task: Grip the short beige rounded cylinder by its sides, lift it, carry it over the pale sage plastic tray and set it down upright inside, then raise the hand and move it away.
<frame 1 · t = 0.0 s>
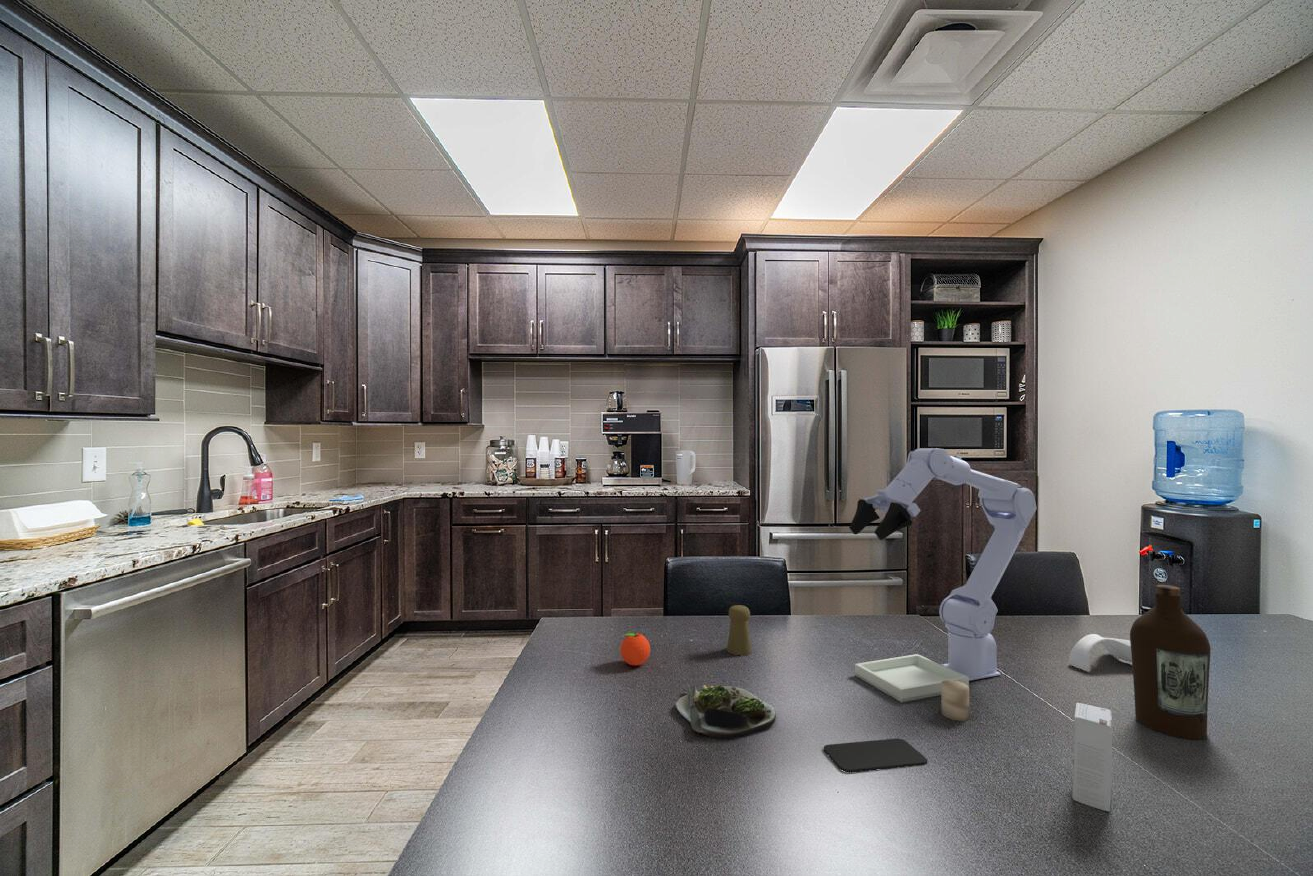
hand: (864, 533, 113), 32 cm above the table, tool tilted 50°, fingers open, 7 cm apart
skincare box: (1093, 799, 78), on the table
brown liquor bottle: (1169, 727, 98), on the table
clementine: (633, 665, 126), on the table
tray: (910, 682, 117), on the table
beige rounded cylinder: (955, 715, 102), on the table
phone: (874, 759, 89), on the table
cork: (739, 652, 134), on the table
white curved arch piece: (1116, 666, 127), on the table
salad plate: (724, 719, 102), on the table
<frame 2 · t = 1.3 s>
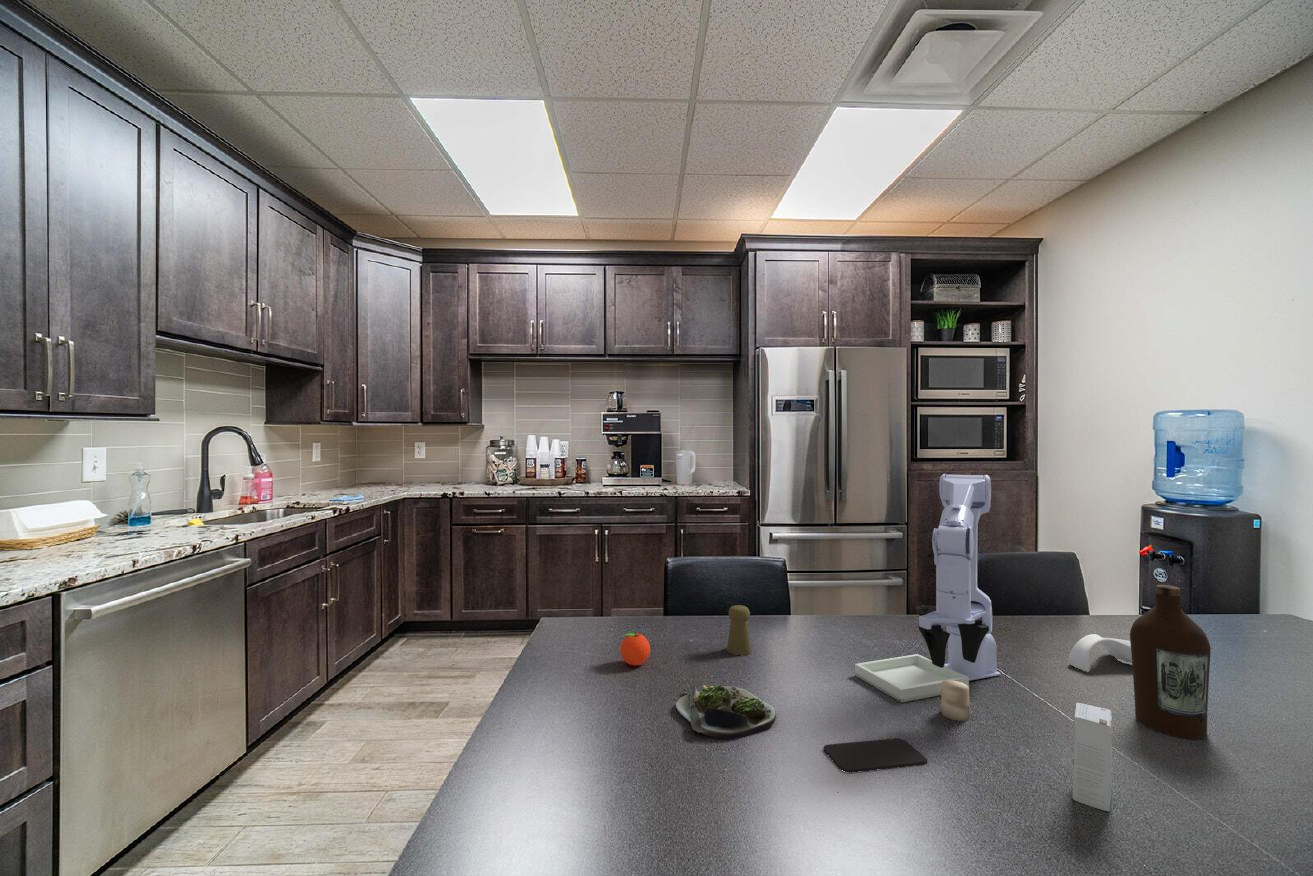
hand: (953, 663, 103), 10 cm above the table, tool pointing down, fingers open, 7 cm apart
nothing on the table moved.
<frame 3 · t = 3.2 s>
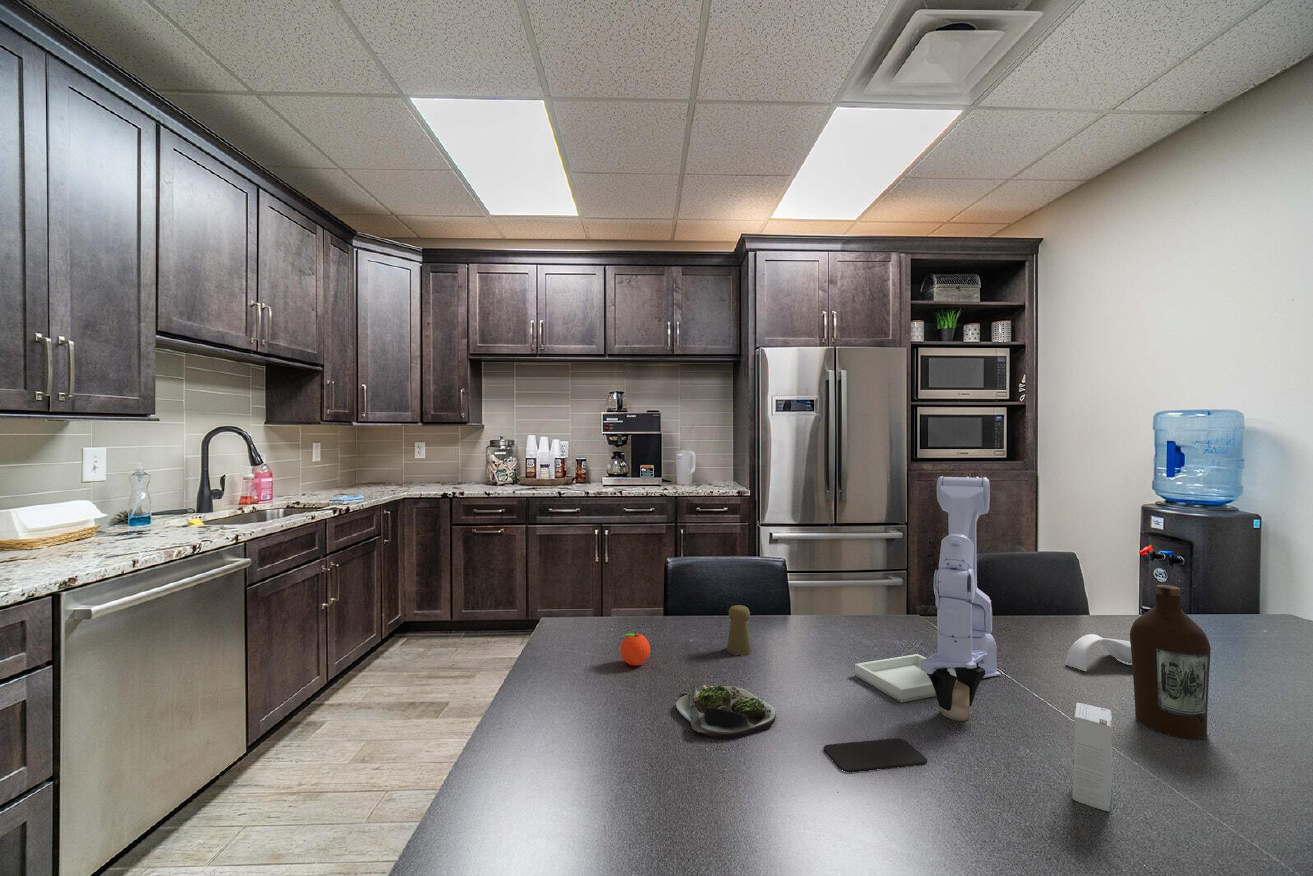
hand: (955, 706, 102), 2 cm above the table, tool pointing down, fingers closed on beige rounded cylinder, 5 cm apart
beige rounded cylinder: (955, 714, 102), on the table, touching gripper
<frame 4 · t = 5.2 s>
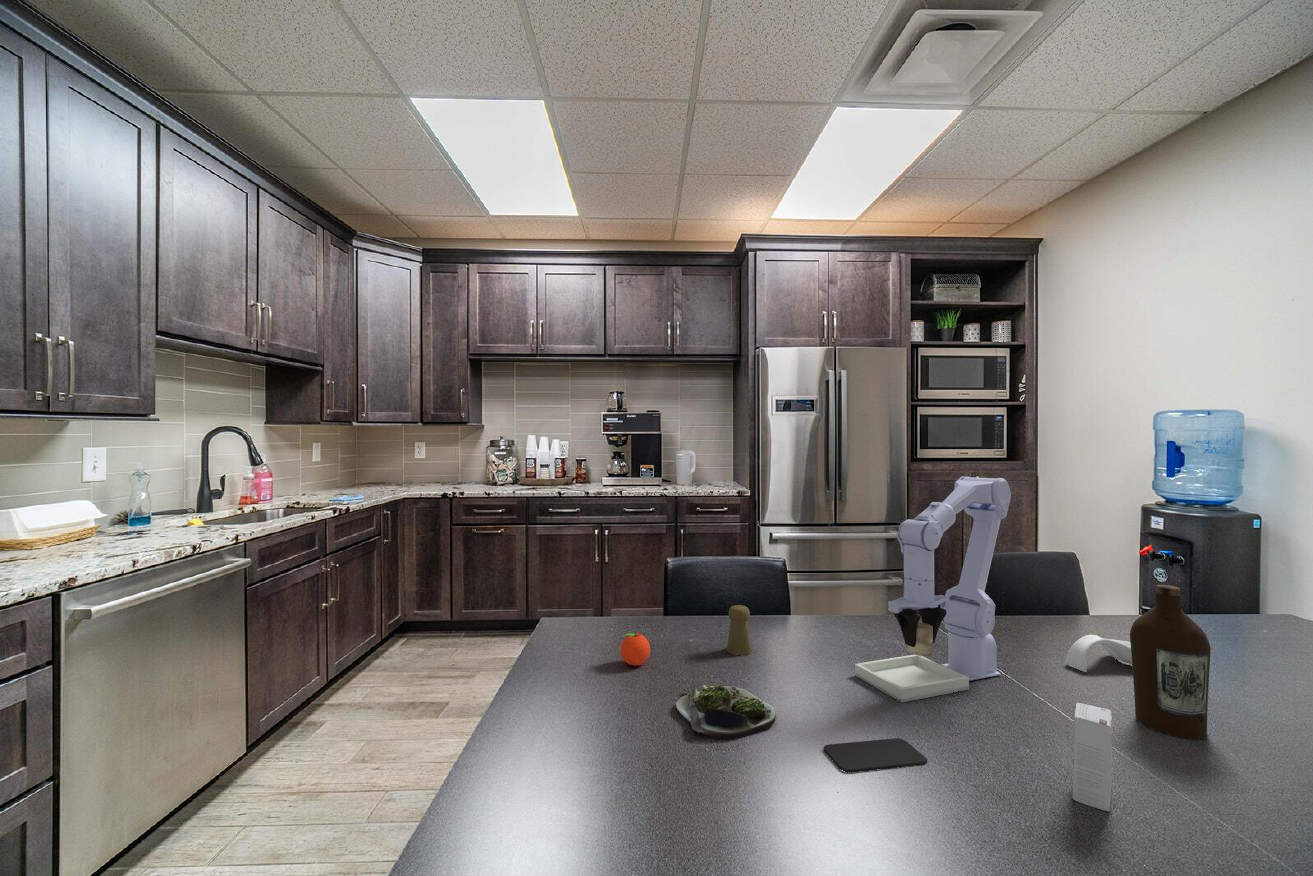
hand: (919, 643, 114), 9 cm above the table, tool pointing down, fingers closed on beige rounded cylinder, 5 cm apart
beige rounded cylinder: (920, 652, 113), point 8 cm above the table, touching gripper
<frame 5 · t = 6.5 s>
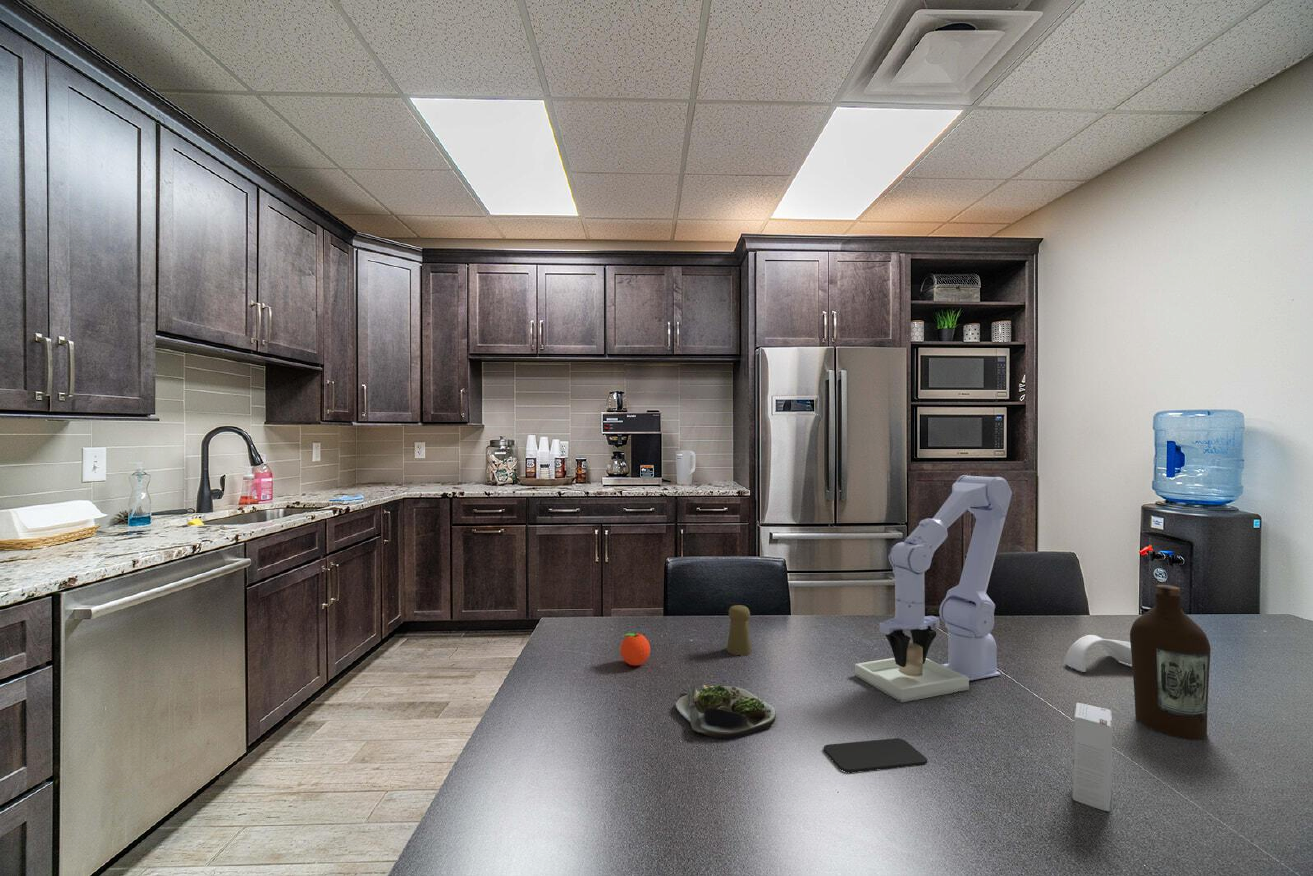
hand: (910, 663, 117), 4 cm above the table, tool pointing down, fingers closed on beige rounded cylinder, 5 cm apart
beige rounded cylinder: (910, 671, 117), point 2 cm above the table, touching gripper
when the fingers open (4 cm above the table, at t = 7.4 s): beige rounded cylinder drops 1 cm, resting on tray.
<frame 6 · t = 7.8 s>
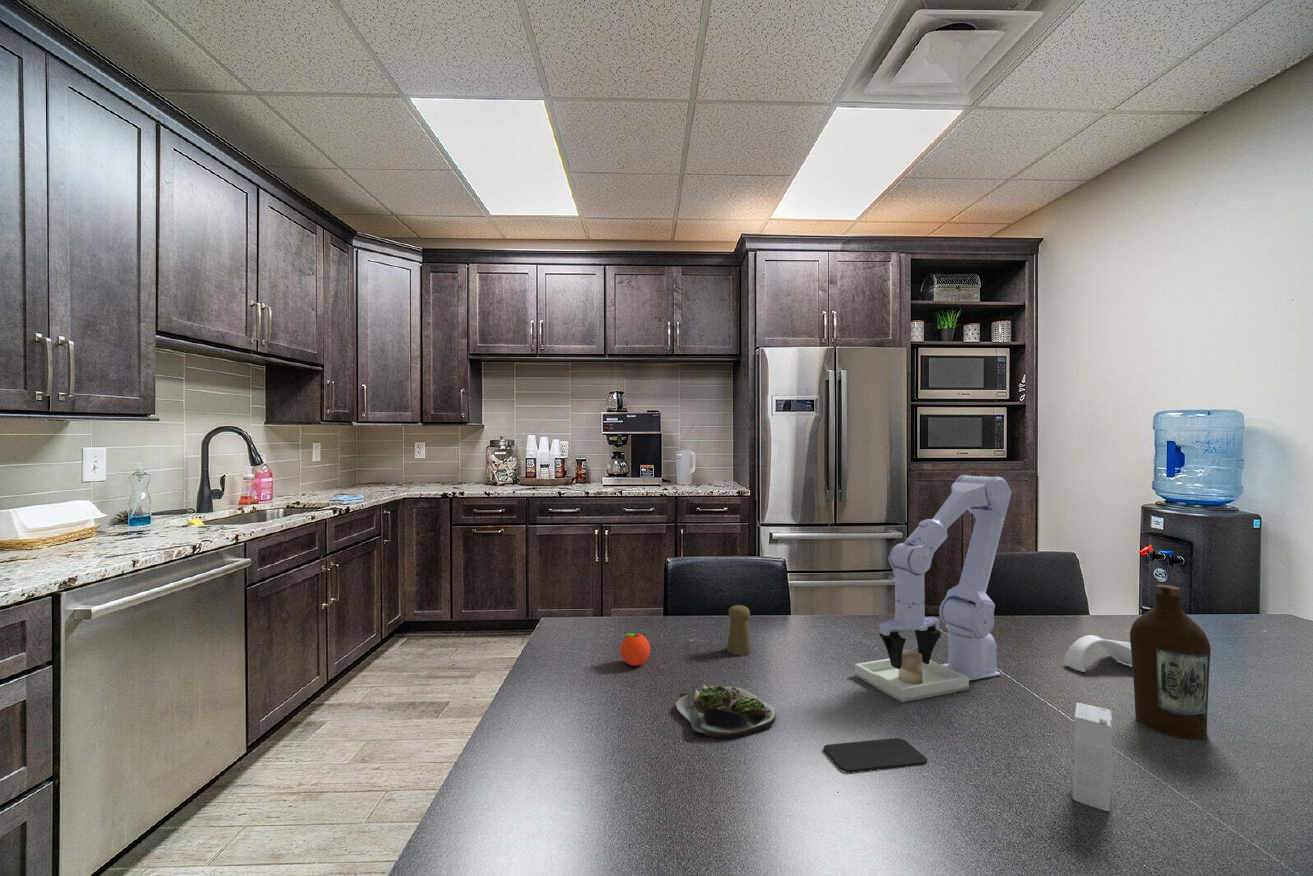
hand: (910, 664, 117), 4 cm above the table, tool pointing down, fingers open, 7 cm apart
beige rounded cylinder: (910, 679, 117), point 1 cm above the table, touching tray
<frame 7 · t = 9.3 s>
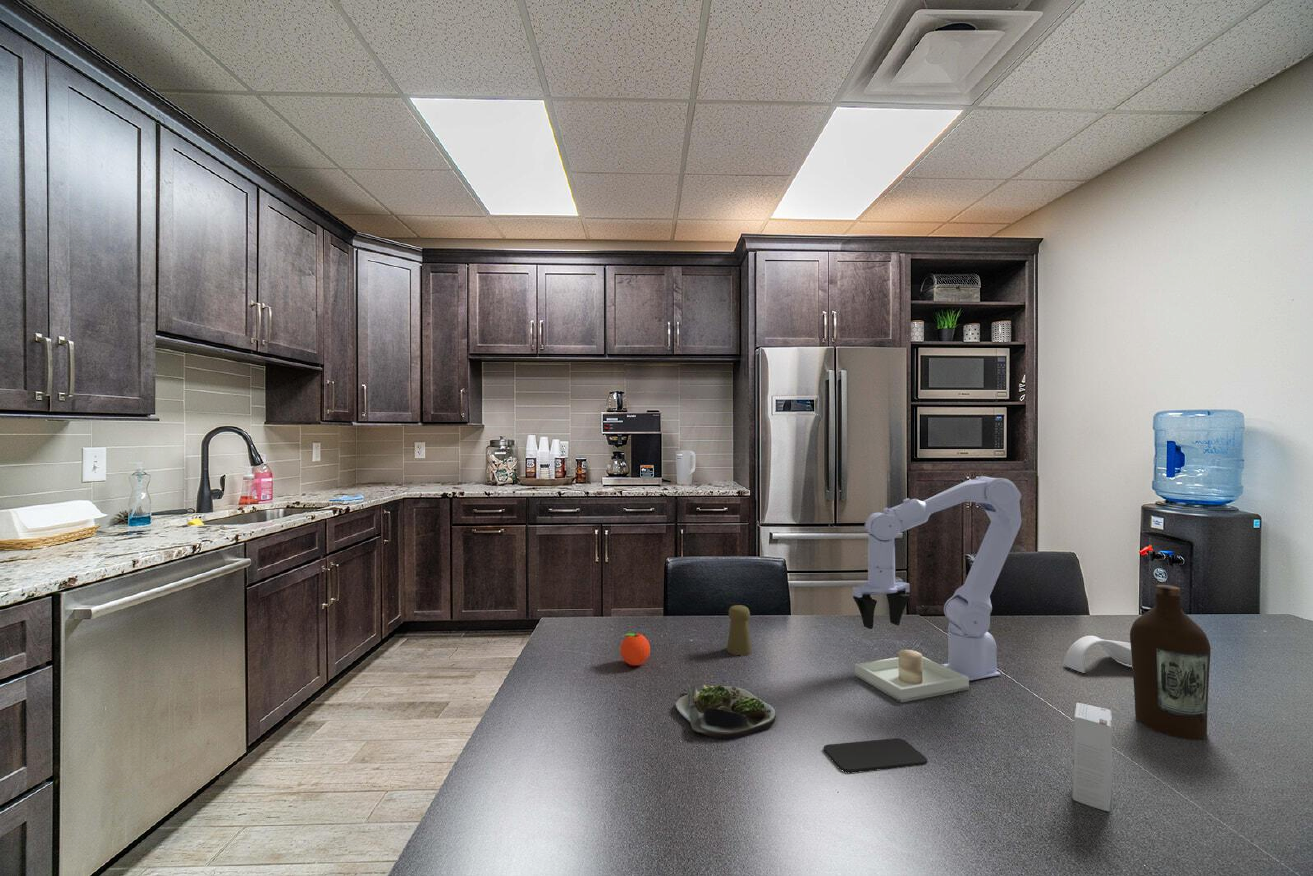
hand: (881, 625, 125), 9 cm above the table, tool pointing down, fingers open, 7 cm apart
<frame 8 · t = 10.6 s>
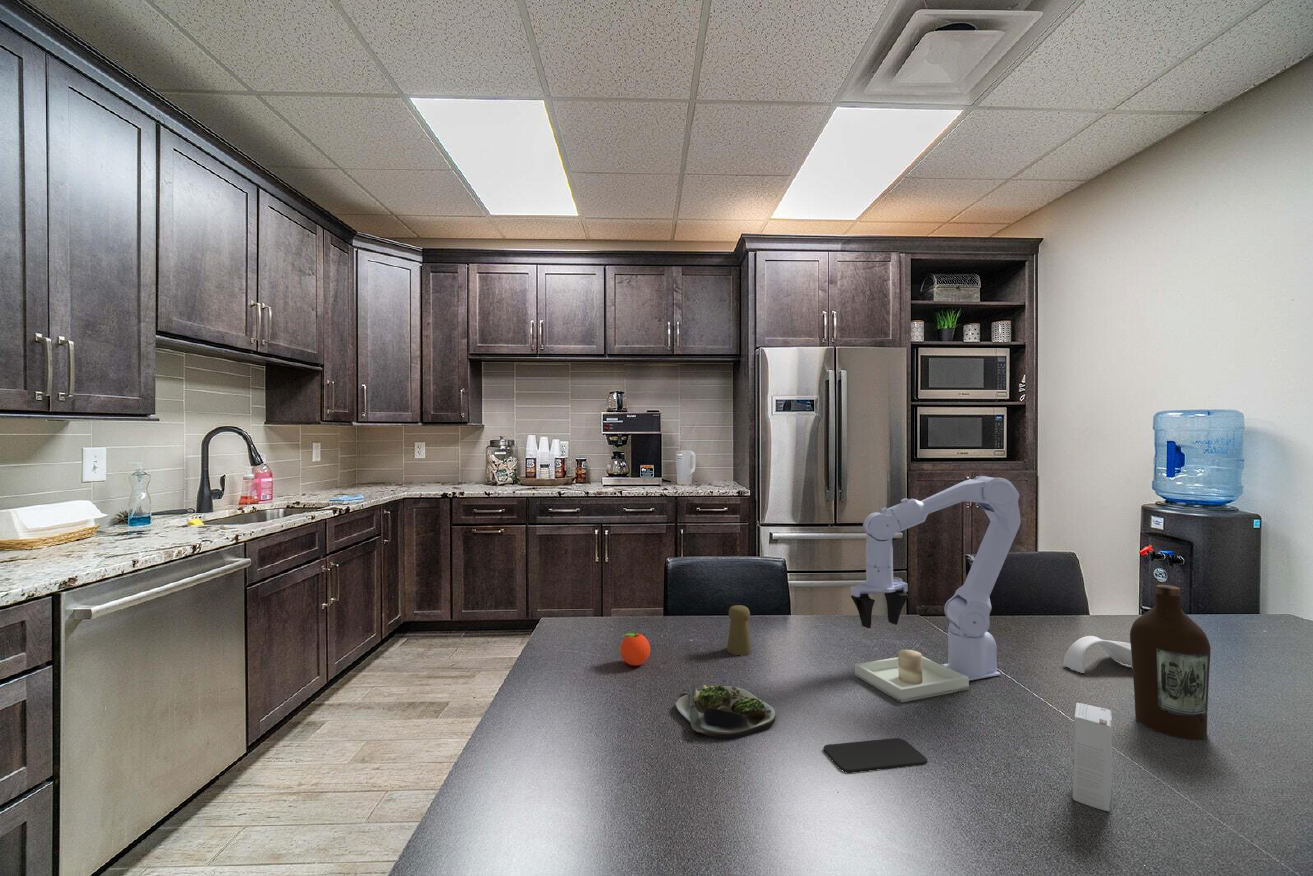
hand: (879, 625, 125), 9 cm above the table, tool pointing down, fingers open, 7 cm apart
at the end: beige rounded cylinder inside the target area on the tray (0.1 cm from its centre), point 0.6 cm above the tray's base; beige rounded cylinder tilted 1°; the gripper is holding nothing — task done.
